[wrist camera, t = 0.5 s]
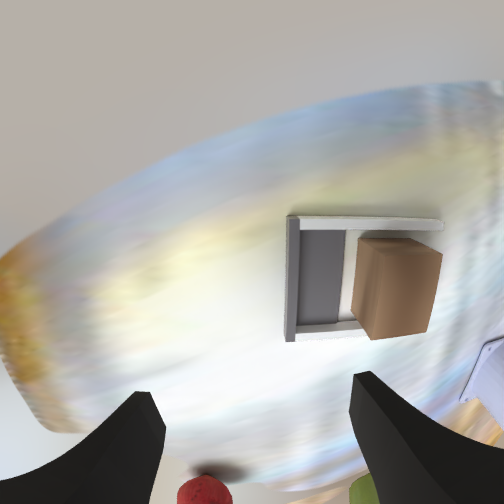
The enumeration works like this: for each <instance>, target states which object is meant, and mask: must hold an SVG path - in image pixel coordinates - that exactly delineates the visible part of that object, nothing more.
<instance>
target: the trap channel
mask: <svg viewBox="0 0 504 504" xmlns="http://www.w3.org/2000/svg"><path fill="white" fill-rule="evenodd" d="M345 230H424V231H443V230H444V222H443V221H440V220H436V219H426V218H400V217H365V216H286V280H285V314H284V336H285V341H286V342H297V341H314V340H328V339H340V338H351V337H361V336H368V335H367V334H366V332H365V331H364V329H363V328H362V326H361V325H360V323H359V322H358V320H355V321H343V322H337V318H338V310H339V301H340V291H341V281H342V270H343V257H344V242H345Z"/></svg>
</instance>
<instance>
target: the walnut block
mask: <svg viewBox="0 0 504 504" xmlns="http://www.w3.org/2000/svg"><path fill="white" fill-rule="evenodd" d="M442 256H443V254H442V253H440V252H438V251H436V250H434V249H431V248H429V247H427V246H425V245H423V244H421V243H419V242H417V241H415V240H413V239H411V238H358V246H357V259H356V270H355V279H354V288H353V297H352V305H351V311H352V313H353V314H354V316H355V317H356V319H357V320H358V322H359V323H360V325H361V326H362V328H363V329H364V331H365V332H366V334H367V335H368V337H369V338H370V340H378V339H386V338H393V337H400V336H406V335H412V334H418V333H424V332H426V331H427V327H428V324H429V320H430V316H431V312H432V308H433V303H434V299H435V294H436V290H437V285H438V279H439V274H440V268H441V262H442Z"/></svg>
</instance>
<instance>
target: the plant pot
mask: <svg viewBox="0 0 504 504" xmlns="http://www.w3.org/2000/svg"><path fill="white" fill-rule="evenodd" d="M349 498H350V504H380V503H379V499H378V495H377V491H376V487H375V484H374V481H373V479H372V476H371V474H370V473H368V474H367V475H365V476H363V477H361V478H359V479H357V480H356V481H355V482H354V483H353V484H352V486H351V487H350V488H349Z"/></svg>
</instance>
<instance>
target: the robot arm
mask: <svg viewBox="0 0 504 504" xmlns="http://www.w3.org/2000/svg"><path fill="white" fill-rule="evenodd" d="M476 397H477V398H478V399H479V400H480V402H481V403H482V404H483V405H484V407H485V408H486V409H487V410H488V412H489V413H490V414H491V415H492V417H493V418H494V419H495V420H496V422H497V423H498V424H499V426H500V427H501V428H502V430H503V431H504V338H502V339H499V340H496V341H493V342H490V343H487V344H485V345H484V347H483V349H482V351H481V354H480V356H479V359H478V361H477V364H476V366H475V368H474V371H473V373H472V375H471V377H470V380H469V382H468V384H467V386H466V388H465V390H464V392H463V394H462V396H461V398H460V400H459V402H460V403H461V404H462V403H465V402H467V401H469V400H472V399H474V398H476ZM349 414H350V418H351V422H352V426H353V430H354V434H355V437H356V439H357V442H358V444H359V447H360V449H361V451H362V454H363V456H364V459H365V461H366V464H367V466H368V469H369V471H370V474H371V476H372V479H373V481H374V484H375V487H376V491H377V495H378V499H379V503H380V504H504V449H501V448H497V447H493V446H489V445H486V444H483V443H480V442H477V441H475V440H472V439H470V438H467V437H464V436H462V435H460V434H458V433H456V432H454V431H452V430H450V429H448V428H446V427H444V426H442V425H440V424H439V423H437V422H435V421H434V420H432V419H431V418H429V417H428V416H426V415H425V414H423V413H422V412H420V411H419V410H417V409H416V408H415V407H413V406H412V405H411V404H409V403H408V402H407V401H406V400H404V399H403V398H402V397H400V396H399V395H398V394H397V393H396V392H394V391H393V390H392V389H391V388H390V387H388V386H387V385H386V384H385V383H384V382H383V381H381V380H380V379H379V378H378V377H377V376H376V375H375V374H373V373H372V372H371V371H366V372H362V373H358V374H354V376H353V385H352V393H351V401H350V408H349ZM165 433H166V426H165V424H164V422H163V419H162V417H161V415H160V413H159V411H158V409H157V407H156V405H155V402H154V400H153V398H152V396H151V394H150V392H139V391H135V392H134V393H133V394H132V395H131V396H130V397H129V398H128V399H127V400H126V401H125V402H124V403H122V404H121V405H120V406H119V407H118V408H117V409H116V410H115V411H114V412H113V413H112V414H111V415H110V416H109V417H108V418H107V419H106V420H105V421H104V422H103V423H102V424H101V425H100V426H99V427H98V428H96V429H95V430H94V431H93V432H92V433H91V434H89V435H88V436H87V437H86V438H85V439H84V440H82V441H81V442H80V443H79V444H77V445H76V446H75V447H73V448H72V449H70V450H69V451H67V452H66V453H65V454H63V455H62V456H60V457H58V458H57V459H55V460H53V461H51V462H49V463H47V464H45V465H43V466H42V467H40V468H38V469H35V470H33V471H30V472H28V473H26V474H23V475H20V476H17V477H14V478H10V479H6V480H1V481H0V504H149V500H150V496H151V492H152V488H153V485H154V481H155V478H156V474H157V470H158V467H159V463H160V460H161V456H162V453H163V448H164V441H165Z"/></svg>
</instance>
